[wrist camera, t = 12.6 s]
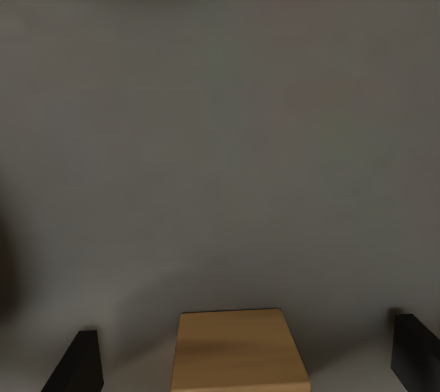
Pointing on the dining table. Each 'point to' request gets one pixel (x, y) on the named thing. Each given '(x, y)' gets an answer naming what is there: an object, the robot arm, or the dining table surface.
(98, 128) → the dining table surface
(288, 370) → the block
